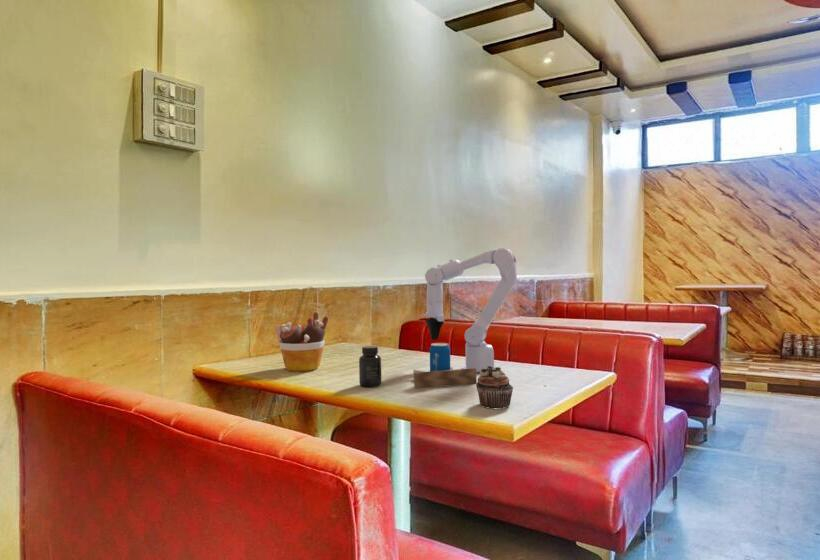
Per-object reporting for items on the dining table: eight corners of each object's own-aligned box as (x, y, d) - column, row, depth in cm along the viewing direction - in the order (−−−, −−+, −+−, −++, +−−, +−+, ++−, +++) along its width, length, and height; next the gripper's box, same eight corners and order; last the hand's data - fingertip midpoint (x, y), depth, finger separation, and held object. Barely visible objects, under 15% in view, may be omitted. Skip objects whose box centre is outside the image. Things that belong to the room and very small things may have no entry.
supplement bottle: (359, 383, 173) (359, 345, 172) (381, 382, 173) (380, 345, 173) (359, 388, 166) (358, 349, 165) (381, 387, 166) (381, 348, 166)
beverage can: (426, 382, 172) (426, 345, 171) (435, 378, 177) (435, 342, 177) (445, 384, 169) (444, 346, 168) (453, 380, 174) (453, 343, 174)
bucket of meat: (303, 375, 185) (302, 317, 185) (266, 371, 193) (265, 315, 192) (338, 365, 203) (337, 312, 202) (303, 362, 211) (302, 311, 210)
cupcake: (509, 411, 138) (509, 371, 138) (472, 407, 142) (471, 369, 141) (516, 402, 147) (516, 365, 147) (481, 399, 151) (481, 363, 150)
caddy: (461, 375, 183) (460, 361, 182) (476, 383, 170) (476, 368, 170) (403, 379, 177) (403, 365, 177) (415, 388, 165) (415, 373, 165)
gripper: (417, 300, 200) (417, 337, 200) (430, 303, 186) (430, 342, 186) (436, 299, 202) (435, 336, 202) (450, 302, 188) (449, 342, 188)
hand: (434, 339), depth 194 cm, fingers closed
